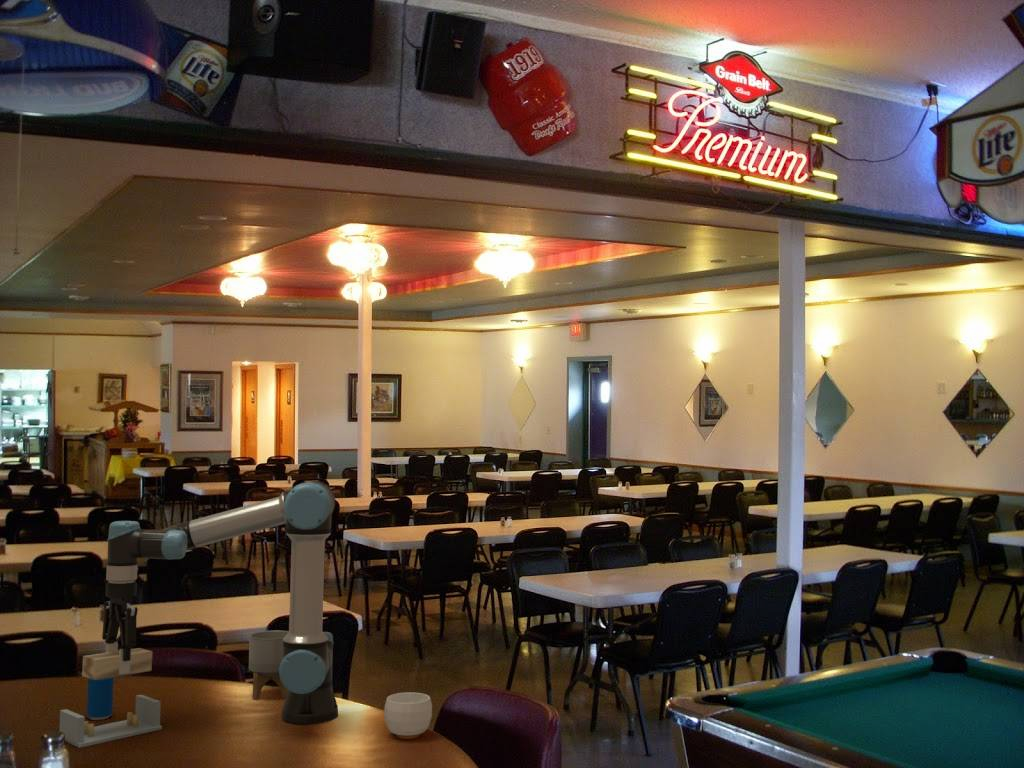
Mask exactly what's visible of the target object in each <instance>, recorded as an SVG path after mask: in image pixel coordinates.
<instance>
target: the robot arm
mask: <svg viewBox="0 0 1024 768" xmlns="http://www.w3.org/2000/svg"><path fill="white" fill-rule="evenodd" d="M335 507H336V497H335V495H334V492H333V490H332V489H331V487H329V486H328V485H327V484H325V483H324V482H322V481H319V480H309V481H306V482H301V483H299V484H297V485H295V486H294V487H293V488H291V489H287V490H285V491H282V492H281V494H280V496H277V497H273V498H269V499H266V500H262V501H258V502H255V503H251V504H247V505H244V506H239V507H237V508H233V509H229V510H226V511H221V512H217V513H215V514H210V515H207V516H203V517H200V518H195V519H192V520H189V521H185V522H181V523H176V524H172V525H170V526H168V527H165V528H161V529H142V528H141V526H140V523H139V522H138V521H135V520H133V521H132V520H117V521H113V522H111V523H110V524H109V528H108V535H107V536H108V538H107V539H106V540H107V558H106V560H107V563H106V575H105V576H106V577H105V580H106V581H107V582H106V583H105V597H107V598H109V599H110V600H109V601H104V603H103V608H104V609H103V610H104V612H103V623H102V633H101V636H102V637H101V638H102V640H103V641H105V643H106V651H105V653H108V652H115V651H119V673H118V674H126V673H130V658H131V649H133V647H136V646H137V615H138V610H139V609H138V607H134V606H133V605H132V598H134V597H136V596H137V592H138V589H137V588H138V583H137V581H136V580H137V579H138V570H139V567H138V564H139V561H138V560H139V559H153V560H168V561H171V560H181V559H183V558H185V556H186V553H187V551H190V550H193V549H196V548H200V547H203V546H208V545H210V544H211V545H212V544H215V543H217V542H223V541H226V540H229V539H233V538H234V539H235V538H237V537H241V536H243V535H244V536H245V535H248V534H252V533H255V532H259V531H260V532H261V531H263V530H268V529H270V528H274V527H278V526H282V525H285V524H286V525H285V526H286V527H285V534H286V535H287V537H288V538H289V539H290V541H291V550H290V551H291V554H290V558H291V559H290V582H289V583H290V584H289V585H290V586H289V587H290V588H289V589H290V591H289V619H288V621H289V623H288V631H289V633H288V634H287V635H286V636H285V637H284V638H283V650H282V662H281V664H280V667H279V675H280V679H281V682H282V683H283V685H284V686H285V687H286V688H287V689H288V690H289V691H288V694H287V697H286V699H284V703H283V706H282V708H281V719H282V720H283V721H285V722H287V723H291V724H298V725H300V724H301V725H314V724H320V723H321V724H322V723H326V722H330V721H333V720H335V719H337V718H338V716H339V706H338V703H337V700H336V695H335V693H334V692H335V691H334V689H333V658H334V657H333V656H334V655H333V654H334V653H333V649H334V648H333V647H334V636H333V634H332V632H328V631H323V620H324V619H323V618H324V617H323V615H324V614H323V613H324V588H325V587H324V583H325V582H324V581H325V579H324V578H325V553H326V552H325V551H326V550H325V549H326V547H325V546H326V543H325V542H326V539H328V538H329V536H330V535H331V534H332V514H333V511H334V510H335ZM118 634H119V635H120V639H118ZM119 640H120V644H121V646H119V643H118V642H119Z"/></svg>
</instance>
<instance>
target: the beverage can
mask: <svg viewBox="0 0 1024 768" xmlns="http://www.w3.org/2000/svg"><path fill="white" fill-rule="evenodd" d="M114 678H115V677H110V678H104V679H98V680H93V679H90V678H87V697H86V699H87V700H86V701H87V702H86V703H87V704H86V717H88V718H89V719H90V720H92V721H101V720H106V719H109V718H110V716H112V715H113V713H114V712H113V710H114Z"/></svg>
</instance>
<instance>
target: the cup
mask: <svg viewBox="0 0 1024 768" xmlns="http://www.w3.org/2000/svg"><path fill="white" fill-rule="evenodd" d="M383 709H384V713H383V714H384V715H383V716H384V717H383V718H384V721H385V722H384V723H385V724H386V727H387V729H388V730H389V732H391V733H392V734H395V735H396V737H397V738H399V739H404V740H407V739H410V740H411V739H415V738H418V737H419V736H420V735H421V734H423V733H425V732H426V730H428V728H429V727H430V725H431V724H430V723H431V720H432V716H433V715H432V714H433V704H432V699H431V696H430V695H428V694H426V693H422V692H413V691H411V692H398V693H393V694H390V695H388V696H387V698H386V701H385V705H384V708H383Z"/></svg>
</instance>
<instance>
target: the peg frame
mask: <svg viewBox="0 0 1024 768" xmlns="http://www.w3.org/2000/svg"><path fill="white" fill-rule="evenodd" d="M161 703H162V702H161V700H158V699H155V698H152V697H150V696H147V695H143V694H138V695H137V694H136V695H135V709H134V710H135V713H133V711H128V712H126V719H124V720H120V721H115V722H109V723H106V724H101V725H97V726H95V723H89V720H86V719H85V718H86V717H85V716H84V715H82V714H79V713H77V712H75V711H71V709H70V710H69V709H60V710H59V732H63V733H64V734H65V741H64V742H66V741H67V742H66V743H68V744H69V745H73V746H74V747H77V748H83V747H84V748H85V747H89V746H92V745H99V744H103V743H106V742H111V741H116V740H120V739H124V738H129V737H135V736H138V735H142V734H147V733H151V732H155V731H160V730H163V726H162V725H161V707H162V706H161Z"/></svg>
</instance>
